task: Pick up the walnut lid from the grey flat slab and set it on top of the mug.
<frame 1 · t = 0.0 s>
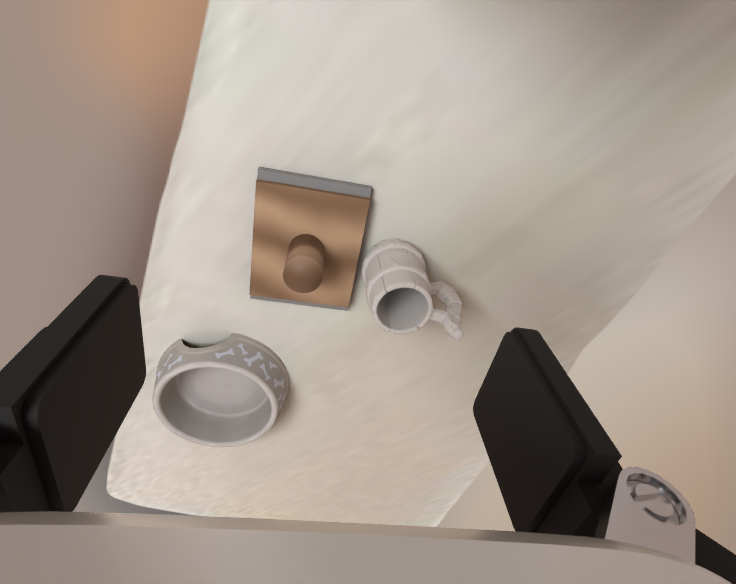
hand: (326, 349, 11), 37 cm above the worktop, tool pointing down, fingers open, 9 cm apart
mug: (407, 268, 52), on the worktop
dog bowl: (225, 379, 60), on the worktop
grey flat slab: (307, 243, 49), on the worktop
walnut lid: (307, 247, 48), point 1 cm above the worktop, touching grey flat slab
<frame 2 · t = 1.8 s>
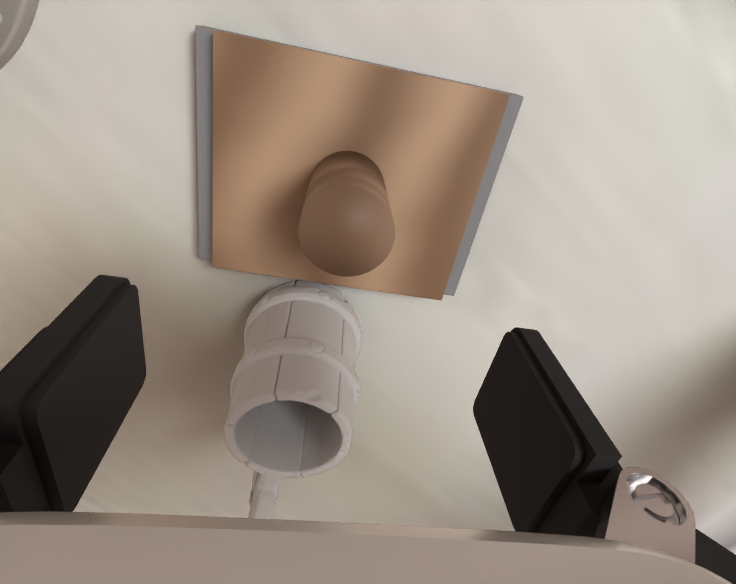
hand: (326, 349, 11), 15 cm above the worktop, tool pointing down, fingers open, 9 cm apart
mug: (298, 343, 30), on the worktop
grey flat slab: (347, 179, 24), on the worktop
walnut lid: (347, 184, 23), point 1 cm above the worktop, touching grey flat slab
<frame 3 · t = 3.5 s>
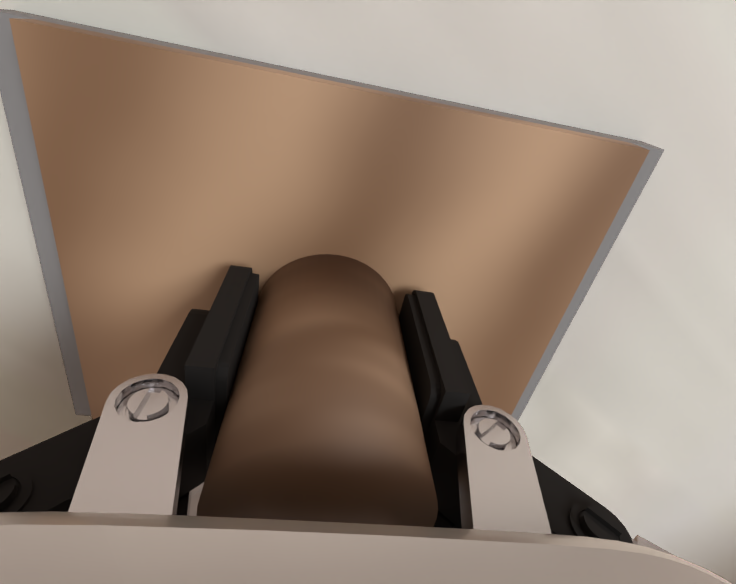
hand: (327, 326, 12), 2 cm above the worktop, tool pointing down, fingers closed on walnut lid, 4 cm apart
grey flat slab: (328, 284, 14), on the worktop
walnut lid: (328, 301, 13), point 1 cm above the worktop, touching grey flat slab, gripper
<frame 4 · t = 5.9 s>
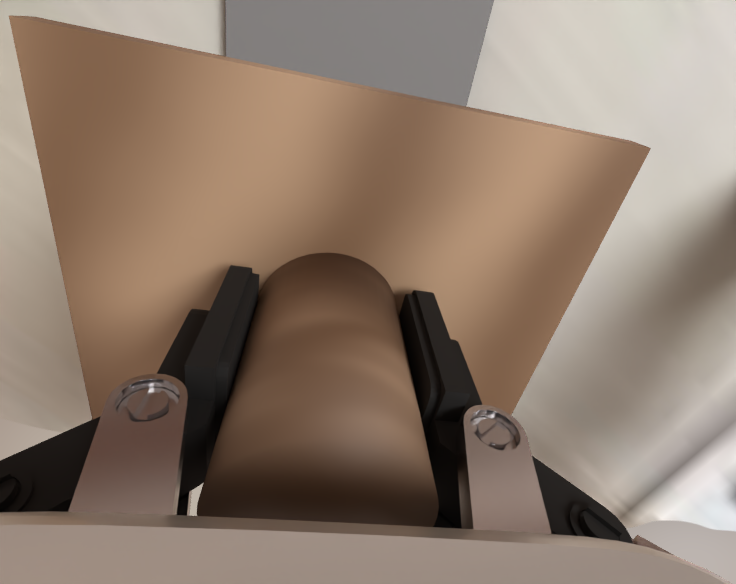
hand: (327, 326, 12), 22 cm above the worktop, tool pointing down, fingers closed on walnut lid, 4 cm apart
grey flat slab: (352, 71, 28), on the worktop
walnut lid: (328, 299, 13), point 21 cm above the worktop, touching gripper
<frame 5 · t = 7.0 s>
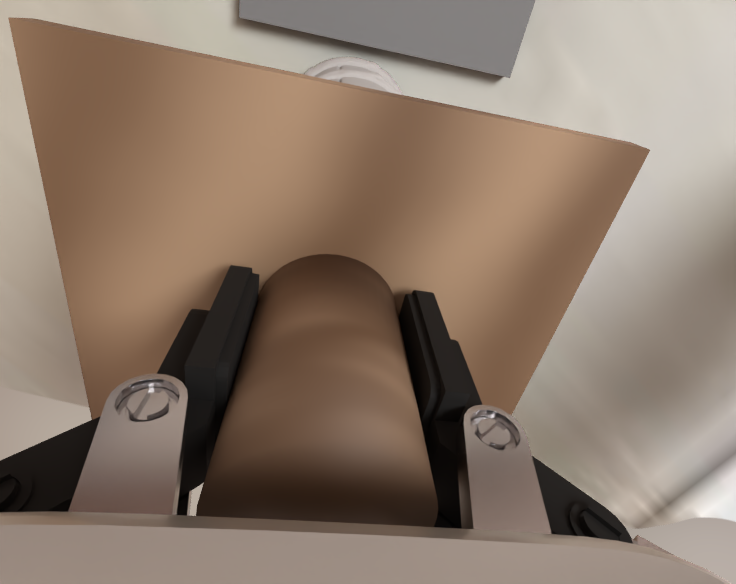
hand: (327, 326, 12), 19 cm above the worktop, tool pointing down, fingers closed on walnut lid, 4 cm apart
mug: (338, 152, 28), on the worktop
walnut lid: (328, 301, 13), point 18 cm above the worktop, touching gripper
when the fingers open (15 cm above the worktop, at t = 8.1 s): walnut lid drops 2 cm, resting on mug.
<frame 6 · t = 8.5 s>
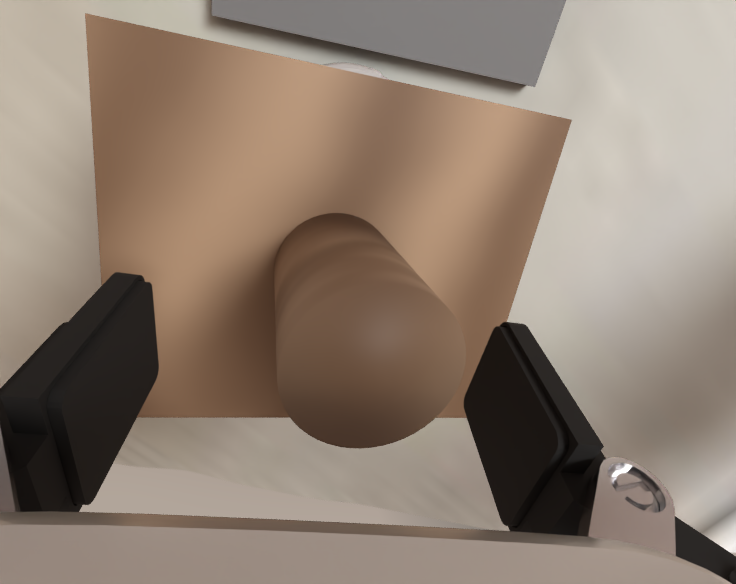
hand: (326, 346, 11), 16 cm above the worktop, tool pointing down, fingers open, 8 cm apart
mug: (332, 172, 24), on the worktop, touching walnut lid
walnut lid: (332, 264, 15), point 11 cm above the worktop, tilted 12°, touching mug
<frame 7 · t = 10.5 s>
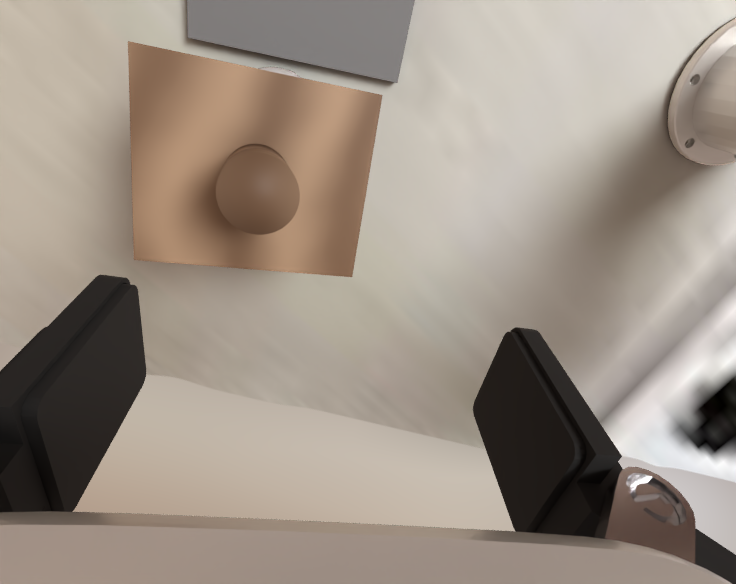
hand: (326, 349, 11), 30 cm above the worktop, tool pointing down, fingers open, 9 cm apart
walnut lid: (257, 176, 27), point 11 cm above the worktop, tilted 12°, touching mug
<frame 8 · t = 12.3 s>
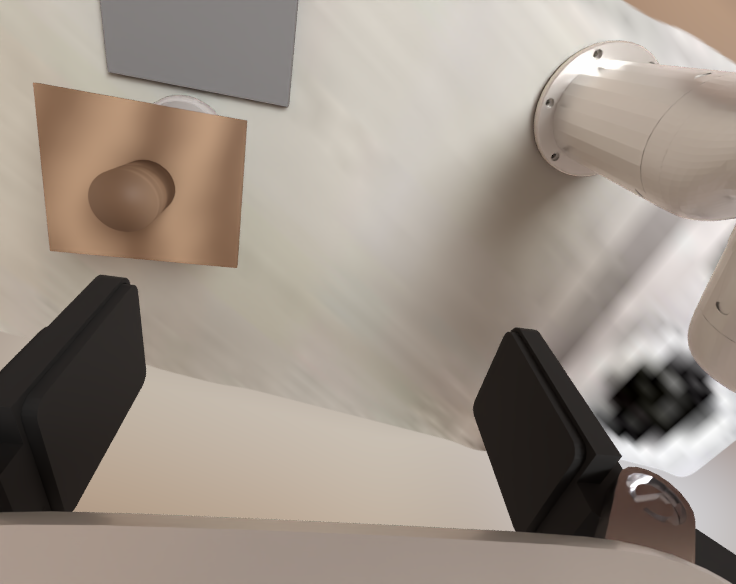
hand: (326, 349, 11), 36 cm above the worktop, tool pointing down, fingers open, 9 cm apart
mug: (189, 154, 43), on the worktop, touching walnut lid
grey flat slab: (203, 14, 37), on the worktop
walnut lid: (150, 184, 33), point 11 cm above the worktop, tilted 12°, touching mug
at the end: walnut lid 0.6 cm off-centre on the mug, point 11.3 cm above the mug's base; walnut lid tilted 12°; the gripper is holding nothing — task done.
